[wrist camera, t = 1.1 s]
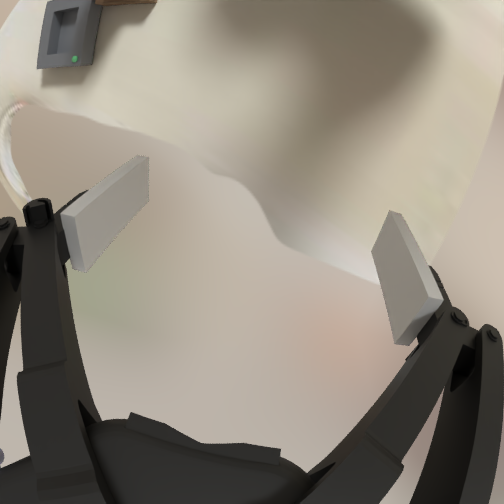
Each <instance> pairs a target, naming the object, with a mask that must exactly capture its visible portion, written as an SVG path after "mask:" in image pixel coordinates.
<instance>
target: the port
mask: <svg viewBox="0 0 504 504" xmlns="http://www.w3.org/2000/svg"><path fill="white" fill-rule="evenodd" d="M95 1H96V0H52V1H48V2H47V5H46V10H45V15H44V20H43V25H42V31H41V37H40V44H39V52H38V60H37V69H43V68H54V67H68V66H83V65H92V61H93V54H94V47H95V41H96V35H97V30H98V24H99V19H100V15H101V10H102V6H103V5H97V4H95Z"/></svg>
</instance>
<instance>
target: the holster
mask: <svg viewBox="0 0 504 504" xmlns="http://www.w3.org/2000/svg"><path fill="white" fill-rule="evenodd" d="M156 2H157V0H96V1H95V4H97V5H103V6H111V5H122V4H137V3H156Z"/></svg>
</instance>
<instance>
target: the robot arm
mask: <svg viewBox="0 0 504 504" xmlns="http://www.w3.org/2000/svg"><path fill="white" fill-rule="evenodd" d="M148 181H149V157H146V156H139V155H137V156H135V157H134V158H132V159H131V160H129V161H128V162H126V163H125V164H123V165H122V166H121V167H119V168H118V169H116V170H115V171H114V172H112V173H111V174H109V175H108V176H107V177H105V178H104V179H103V180H102V181H100V182H99V183H97V184H96V185H95V186H93V187H92V188H91V189H90V190H86V191H84V192H82V193H80V194H78V195H77V196H76V197H74V198H73V199H72V200H70V201H69V202H68V203H67V205H64V206H63V207H62V208H61V209H59V210H58V211H57V212H56V213H55V214H53V209H52V204H51V200H49V199H48V198H39V199H35V200H32V201H30V202H29V203H27V204H26V205H25V206H24V207H23V209H22V210H23V214H24V218H25V222H26V226H27V227H17V224H16V220H15V218H13V217H3V218H2V219H0V418H1V409H2V398H3V388H4V379H5V373H6V366H7V360H8V354H9V349H10V343H11V338H12V334H13V329H14V325H15V321H16V316H17V313H18V309H19V305H20V301H21V340H22V356H23V371H22V372H19V373H18V375H17V386H18V394H19V401H20V408H21V414H22V419H23V424H24V430H25V434H26V438H27V443H28V447H29V451H30V456H28V457H25V458H23V459H21V460H19V461H17V462H15V463H12V464H10V465H8V466H5V467H3V468H1V467H0V504H379V503H380V501H381V500H382V499H383V498H384V496H385V495H386V494H387V493H388V491H389V490H390V488H391V487H392V486H393V485H394V483H395V482H396V480H397V479H398V478H399V476H400V475H401V473H402V471H403V468H404V465H403V464H402V463H401V462H402V459H403V458H404V456H405V454H406V453H407V452H408V450H409V449H410V447H411V445H412V444H413V442H414V441H415V439H416V438H417V436H418V434H419V432H420V431H421V429H422V428H423V426H424V424H425V422H426V421H427V419H428V417H429V415H430V413H431V412H432V410H433V408H434V406H435V404H436V402H437V400H438V398H439V396H440V394H441V392H442V390H443V388H444V393H443V398H442V403H441V407H440V411H439V416H438V420H437V424H436V428H435V431H434V435H433V439H432V442H431V445H430V449H429V452H428V455H427V458H426V461H425V464H424V468H423V470H422V473H421V476H420V478H419V481H418V484H417V486H416V489H415V491H414V494H413V496H412V499H411V501H410V503H409V504H488V503H489V500H490V496H491V492H492V487H493V482H494V478H495V473H496V468H497V462H498V456H499V449H500V442H501V433H502V422H503V405H504V360H503V345H502V344H503V343H502V338H501V336H500V334H499V332H498V331H497V329H496V328H494V327H493V326H491V325H489V324H485V325H483V326H482V328H481V329H480V330H479V331H478V330H476V329H474V328H472V327H470V326H469V321H468V319H467V317H466V316H465V314H464V313H463V312H462V311H461V310H459V309H458V308H456V307H452V305H451V302H450V300H449V298H448V295H447V293H446V291H445V289H444V287H443V284H442V283H441V280H440V278H439V276H438V274H437V273H436V271H435V270H434V269H433V268H432V267H431V266H429V265H428V264H427V262H426V260H425V258H424V256H423V254H422V252H421V250H420V248H419V246H418V244H417V242H416V240H415V238H414V236H413V234H412V232H411V231H410V229H409V227H408V225H407V223H406V221H405V220H404V218H403V216H402V214H400V213H396V212H393V211H390V210H389V212H388V215H387V217H386V220H385V222H384V224H383V226H382V229H381V231H380V233H379V236H378V238H377V240H376V242H375V244H374V247H373V249H372V251H371V252H372V256H373V259H374V262H375V266H376V269H377V273H378V277H379V280H380V284H381V288H382V291H383V296H384V300H385V304H386V308H387V312H388V316H389V320H390V325H391V330H392V334H393V339H394V344H399V345H406V346H409V345H410V344H411V343H412V342H413V340H414V339H415V338H416V337H417V340H418V343H419V344H418V345H417V346H416V348H415V349H414V350H413V351H412V352H411V354H410V355H409V356H408V357H407V358H406V359H405V360H406V362H405V364H404V365H403V366H402V368H401V369H400V371H399V372H398V373H397V375H396V376H395V378H394V379H393V380H392V382H391V383H390V384H389V386H388V387H387V388H386V390H385V391H384V392H383V394H382V395H381V396H380V397H379V398H378V400H377V401H376V402H375V403H374V405H373V406H372V407H371V408H370V410H369V411H368V412H367V413H366V414H365V416H364V417H363V418H362V419H361V420H360V421H359V423H358V424H357V425H356V426H355V427H354V428H353V429H352V431H351V432H350V433H349V434H348V435H347V436H346V437H345V438H344V439H343V440H342V442H341V443H339V444H338V446H337V447H336V448H335V449H334V450H333V451H332V452H331V453H330V454H329V455H328V456H327V457H326V458H325V459H323V460H322V461H321V462H320V463H319V464H317V465H316V466H315V467H314V468H312V469H311V470H310V471H309V472H308V473H306V472H305V471H303V470H302V469H301V468H300V467H298V466H297V465H295V464H294V463H292V462H291V461H289V460H287V459H285V458H282V457H280V452H281V449H278V448H271V447H264V446H258V445H252V444H246V443H232V444H230V443H229V444H204V443H200V442H198V441H196V440H194V439H192V438H190V437H188V436H186V435H184V434H183V433H181V432H179V431H177V430H176V429H174V428H172V427H170V426H168V425H167V424H165V423H161V422H158V421H155V420H152V419H149V418H146V417H143V416H141V415H138V414H135V413H132V412H131V413H130V415H129V418H128V419H111V420H105V421H102V420H101V418H100V415H99V413H98V411H97V409H96V407H95V404H94V401H93V398H92V395H91V392H90V388H89V385H88V381H87V377H86V374H85V370H84V366H83V362H82V358H81V354H80V349H79V344H78V340H77V335H76V330H75V324H74V319H73V313H72V307H71V301H70V294H69V286H68V278H67V269H66V266H65V263H66V262H67V260H68V259H69V258H70V260H71V264H72V268H73V269H75V270H78V271H81V272H84V273H87V271H88V270H89V269H90V268H91V266H92V265H93V264H94V263H95V261H96V260H97V259H98V258H99V257H100V255H101V254H102V253H103V252H104V251H105V249H106V248H107V247H108V246H109V245H110V244H111V242H112V241H113V240H114V239H115V237H116V236H117V235H118V234H119V233H120V232H121V231H122V230H123V229H124V228H125V226H126V225H127V224H128V223H129V222H130V221H131V220H132V219H133V217H134V216H135V215H136V214H137V213H138V212H139V211H140V210H141V209H142V208H143V207H144V206H145V205H146V204H147V202H148V200H149V197H148V196H149V194H148V192H149V191H148V189H149V183H148ZM444 386H445V387H444ZM3 460H4V453H3V451H2V450H1V449H0V464H1V463H2V462H3Z"/></svg>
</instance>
